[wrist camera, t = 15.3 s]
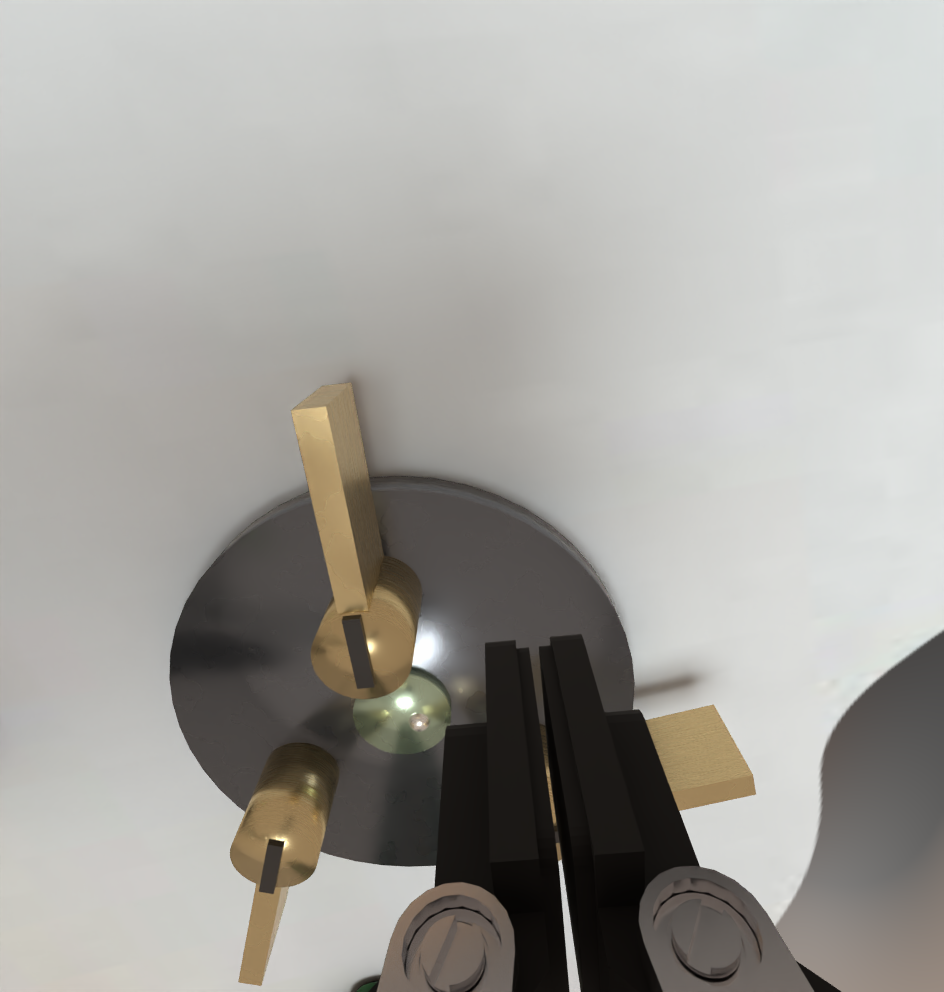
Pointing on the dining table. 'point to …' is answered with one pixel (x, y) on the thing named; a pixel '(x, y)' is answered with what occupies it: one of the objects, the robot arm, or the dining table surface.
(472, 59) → the dining table surface
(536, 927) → the robot arm
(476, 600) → the plate
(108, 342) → the dining table surface
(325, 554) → the gold flat-bladed piece
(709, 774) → the knob
